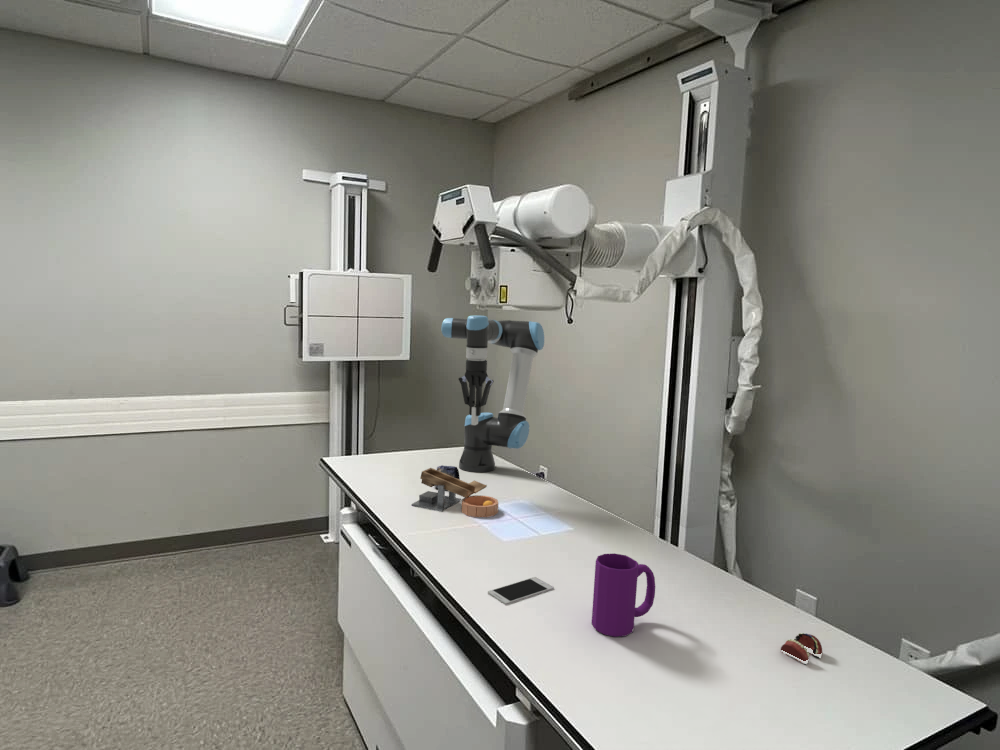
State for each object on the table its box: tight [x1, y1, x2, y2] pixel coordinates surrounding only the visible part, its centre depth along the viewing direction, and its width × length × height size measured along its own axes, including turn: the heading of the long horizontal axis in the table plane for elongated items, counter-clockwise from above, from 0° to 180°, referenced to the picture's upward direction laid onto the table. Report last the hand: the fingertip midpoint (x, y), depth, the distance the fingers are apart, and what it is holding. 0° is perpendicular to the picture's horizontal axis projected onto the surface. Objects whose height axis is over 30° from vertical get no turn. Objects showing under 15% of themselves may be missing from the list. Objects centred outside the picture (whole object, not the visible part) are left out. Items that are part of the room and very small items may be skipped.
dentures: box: [780, 632, 823, 661], centre depth 130 cm, size 6×4×8 cm
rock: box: [433, 464, 461, 491], centre depth 236 cm, size 11×10×10 cm
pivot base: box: [411, 485, 462, 512], centre depth 216 cm, size 12×14×8 cm
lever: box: [419, 467, 488, 498], centre depth 218 cm, size 18×15×4 cm
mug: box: [591, 553, 656, 638], centre depth 138 cm, size 9×16×15 cm, turn 118°
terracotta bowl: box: [460, 494, 499, 518], centre depth 210 cm, size 12×12×4 cm
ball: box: [483, 501, 493, 506], centre depth 208 cm, size 4×4×4 cm
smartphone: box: [487, 576, 555, 606], centre depth 153 cm, size 7×16×1 cm, turn 128°
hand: (474, 424), depth 227 cm, fingers closed
